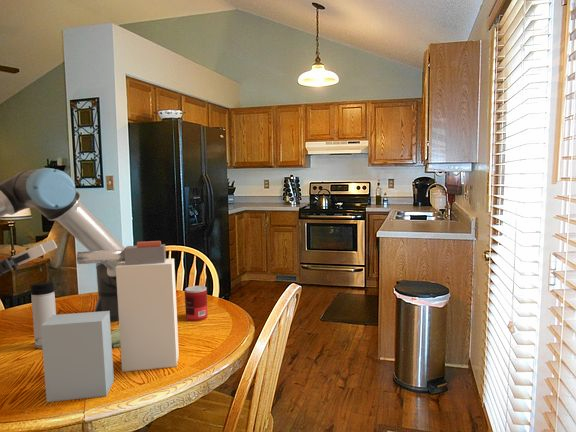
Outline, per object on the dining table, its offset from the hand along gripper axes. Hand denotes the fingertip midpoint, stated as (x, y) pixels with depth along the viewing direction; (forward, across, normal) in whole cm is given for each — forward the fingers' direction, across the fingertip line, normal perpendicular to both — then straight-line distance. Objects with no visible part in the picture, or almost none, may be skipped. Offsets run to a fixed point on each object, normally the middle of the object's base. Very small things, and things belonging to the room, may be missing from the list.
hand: (49, 246), depth 116 cm
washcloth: (+6, -17, -38) cm, 43 cm away
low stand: (-5, +16, -35) cm, 38 cm away
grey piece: (+16, +5, -12) cm, 21 cm away
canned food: (+24, -31, -45) cm, 60 cm away
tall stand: (+10, +4, -40) cm, 42 cm away
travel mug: (-19, -21, -28) cm, 39 cm away
